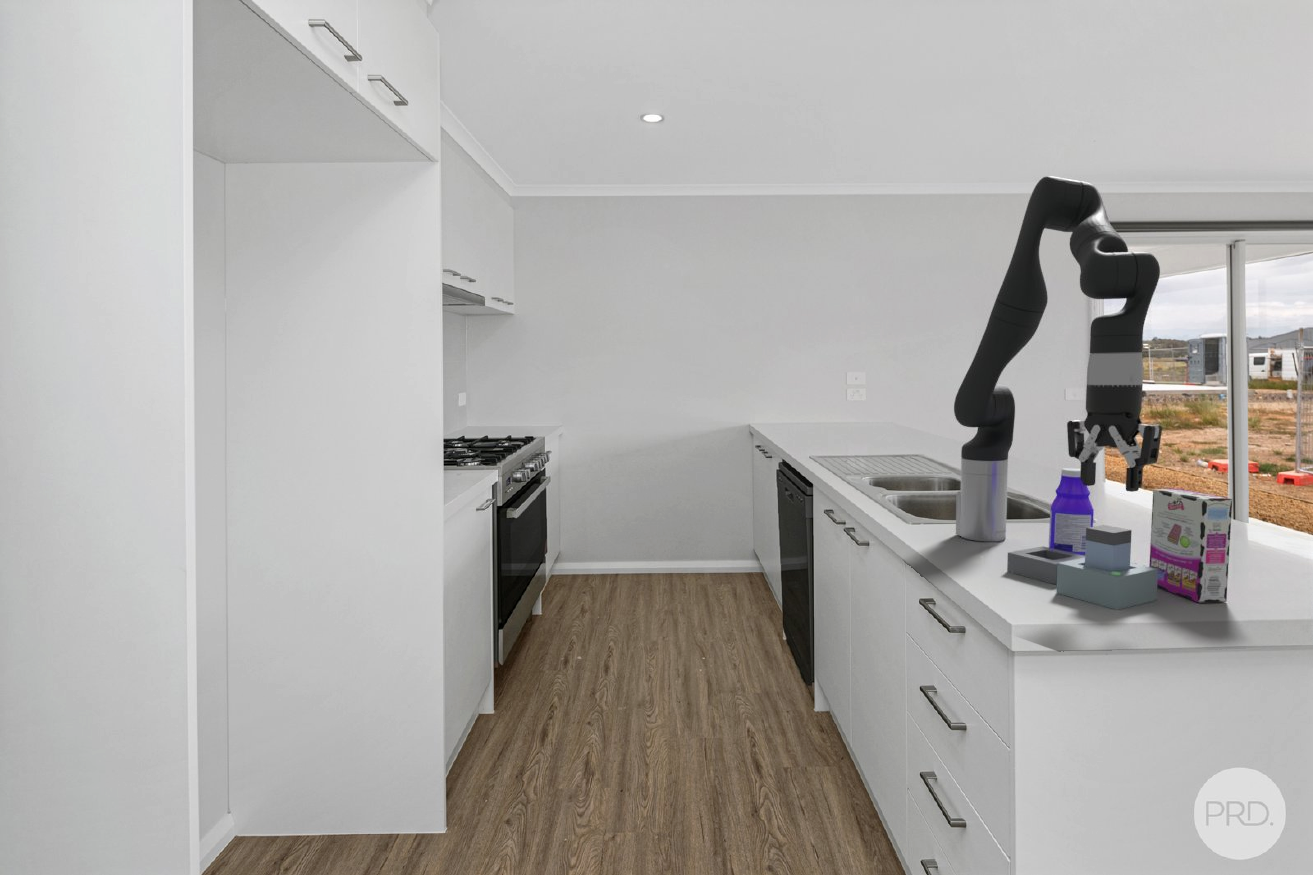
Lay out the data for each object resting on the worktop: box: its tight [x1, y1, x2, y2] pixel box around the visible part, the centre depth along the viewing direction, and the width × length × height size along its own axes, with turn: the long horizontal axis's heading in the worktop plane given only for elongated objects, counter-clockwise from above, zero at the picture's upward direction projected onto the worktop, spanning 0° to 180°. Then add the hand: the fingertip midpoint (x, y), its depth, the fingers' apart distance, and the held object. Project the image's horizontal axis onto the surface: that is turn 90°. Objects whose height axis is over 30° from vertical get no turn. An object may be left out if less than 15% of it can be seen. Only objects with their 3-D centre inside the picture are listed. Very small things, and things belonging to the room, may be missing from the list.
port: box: [1056, 558, 1158, 611], centre depth 121 cm, size 10×10×5 cm
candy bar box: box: [1148, 488, 1234, 604], centre depth 122 cm, size 11×5×16 cm, turn 5°
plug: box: [1085, 524, 1132, 572], centre depth 121 cm, size 4×4×10 cm
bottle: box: [1048, 467, 1095, 556], centre depth 145 cm, size 7×6×17 cm
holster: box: [1006, 545, 1085, 585], centre depth 135 cm, size 10×10×4 cm
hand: (1109, 487), depth 120 cm, fingers open, 6 cm apart
